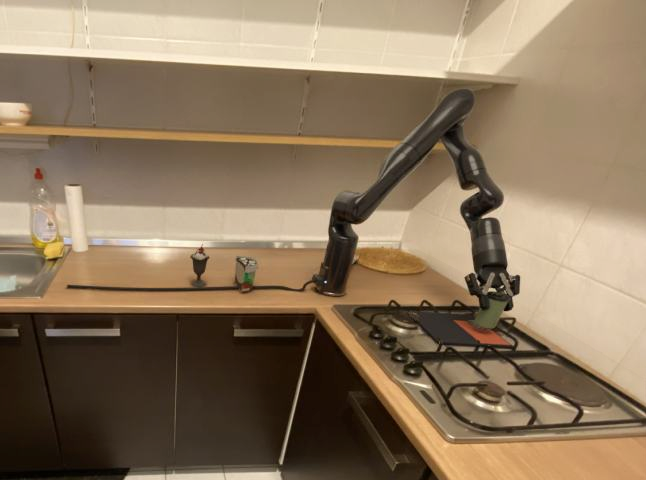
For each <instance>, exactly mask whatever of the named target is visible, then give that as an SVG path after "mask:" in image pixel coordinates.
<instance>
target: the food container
mask: <svg viewBox="0 0 646 480" xmlns="http://www.w3.org/2000/svg"><path fill="white" fill-rule="evenodd" d="M234 270H235V271H234V283H233V284H234V286H239V287H240V289H238V290H239V292H240V293H241V294H248V293H250V292H252V290H253V289H252V287H253V286H254V281H255V277H256V272H257V271H258V270H259V263H258V261H257V259H256V258H253V257H250V256H246V255H236V256H235V269H234Z"/></svg>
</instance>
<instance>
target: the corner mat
mask: <svg viewBox="0 0 646 480" xmlns="http://www.w3.org/2000/svg"><path fill="white" fill-rule="evenodd" d="M411 311H412V313H413V311H414V310H411ZM417 311H418V310H417ZM417 311H416V310H415V312H414V313H417V314H418V315H419V319H420V324H421V325H420V326H419V328H421V329H422V330H423V331H424V332H425V333H426V334H427V335H428V336H429V338H431V340H433V341H434V342H435V343H436V344H437V345H440V344H439V340H438V338H437V337H439V338H440V339H441V340H442V342H443V343H442V346H443V345H444V346H460V347H473V348H474V347H476V348H487V347H486V346H488V345H490V346H491V347H492V348H493V349H509V350H511V349H512V350H513V349H514V347H515V346H514V345H513V344H511V343H510V342H509V341H508V340H506V339H505V338H504V337H502V336H501V335H500V334H498V333H497V332H495V331H494V330H492V328H490V329H486V330H484V329H478V328H475V327H474V326H472V325H470V324H468V322H466V321H468V320H475V318H476V316H474V315H473V314H470V313H469V314H467V313H454V312H453V313H451V312H435V311H418V312H417ZM478 340H479V341H480V346H479V347H477V344H478ZM491 347H490V348H491ZM492 348H491V349H492Z"/></svg>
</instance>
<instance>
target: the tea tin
mask: <svg viewBox="0 0 646 480" xmlns="http://www.w3.org/2000/svg"><path fill="white" fill-rule="evenodd" d="M506 294H507V293H506ZM506 294H503V293H500V292H497V291H494V290H493V291H490V290H488V293H487V296H488V298H489V305H490V308H489V309H487V310H481V308H480V307H479V309H478V311H477V314H476V315H475V320H474V323H475V324H477V325H479V326H481V327H484V328H490V329H494V328H495V329H496V327H497V325H498V323H499V321H500V319H501V317H502V315H503V313H504V312H505V311H504V309H505V307H506V305H507V303H508V301H509V300H510V296H508V295H506Z"/></svg>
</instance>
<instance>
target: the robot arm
mask: <svg viewBox="0 0 646 480" xmlns="http://www.w3.org/2000/svg"><path fill="white" fill-rule="evenodd" d="M475 105H476V94H475V92H474V91H473V90H472V89H471V88H466V87H459V88H456V89H453V90H452V91H450V92H448V93H447V94H445V96H443V98H442V99H441V100H440V101H439V102H438V104H437V105H436V106H435V108H433V110H432V111H431V112H430V114H429V115H428V116H427V117H426V118H425V119H424V120H423V121H422V122H421V123H419V124H418V125H417V126H416V127H415V128H414V129H413V130H411V132H409V133H408V134H407V135H406V136H405V137H404V138H403V139H402V140H401V141H400V142H398V144H396V146H394V148H392V149H391V150H390V151H389V152H388V153H387V154H386V156H385V157H384V158H383V159H382V162H381V164H380V168H379V171H378V176H377V179H376V180H374V182H373V183H372V185H370V186H369V187H368V188H367V189H366V190H365V191H363V192H359V191H354V190H342V191H341V192H339V193H338V194H337V195H336V196H335V198H334V201H333V202H332V206H331V210H330V214H329V220H328V221H329V222H328V227H327V228H328V229H327V235H328V239H327V243H326V248H325V253H324V256H323V261H321V263H320V267H319V272H318V274H315V273H314V274H312V279H310V280H308V281H306V282H305V283H304V284H303V285H302V287H301V288H292V287H289V286H288V287H287V286H284V285H253V287H252V290H254V289H255V290H257V289H258V290H259V289H260V290H261V289H263V290H265V289H280V290H286V291H290V292H298V293H299V292H303V291H305V290H306V288H307V286H308V285H310V284H314V285H315V288H316V290H317V292H318V293H319V294H320V295H326V296H328V297H329V296H330V297H342V296H344V295H345V294H346V290H347V285H348V281H349V278H350V273H351V270H352V267H353V265H352V263H353V259H354V255H356V250H357V248H358V243H359V239H360V238H359V235H358V234H357V233H356V232H355V230H354V228H353V226H352V225H356V226H357V225H361V224H363V223H365V222H367V220H369V218H370V217H371V216H372V215H373V214H374V212H375V211H376V210H377V209H378V208H379V207H380V205H381V204H382V203H383V202H384V201H385V200H386V199H387V197H388V196H389V195H390V194H391V193H392V192H393V191H394V190H395V189H396V188H397V187H398V186H399V185H400V184H401V183H402V182H403V181H404V180H405V179H406V178H407V177H408V176H409V175H411V173H413V171H414V170H416V169H417V168H418V167H419V166H420V165H421V164H422V163H423V161H424V160H425V159H426V158H427V157H428V155H429V154H430V153H431V151H432V150H433V149H434V148H435V146H436V145H437V144H438V142H439V141H441V143H442V145H443V147H444V149H445V150H446V153H447V154H448V156H449V158H450V160H451V163H452V165H453V169H454V172H455V175H456V179H457V181H458V184H459V187H460V189H461V190H463V191H466V192H467V191H472V190H476V189H478V191H477V192H476V193H474V194H472V195H470V196H468V197H467V198H465V199H464V200H463V201H462V202H461V205H460V207H459V214H460V215H461V218H462V219H463V221H464V223H465V225H466V227H467V229H468V231H469V235H470V242H471V247H470V250H471V257H472V259H471V260H472V265H473V266H472V267H473V272H470V273H469V274H467V275H465V276H464V281H465V285H466V287H467V289H468V293H469V295H470V296H472V297H473V296H475V297H476V298H478V305H479V309H480V308H481V310H487V309H489V308H490V305H489V298H488V296H487V293H488V292H489V291H490V289H493V290H495V292H500V293H503V294H506V295H508V296H510V300H509V301H508V303H507V305H506V307H505V309H504V311H503V312H510V311H512V310H513V309H514V299H513V297H516V296H518V295H519V294H520V292H521V291H520V290H521V275H520V274H516V275H512V274H509V272H508V270H507V269H508V267H509V265H508V263H509V262H508V258H507V252H506V246H505V244H506V243H505V241H504V238H503V233H502V228H501V227H502V226H501V222H500V220H499V219H498V218H496V217H493V216H492V217H491V216H487V217H484V216H486V215H488V214H490V213H492V212H494V211H497V210H498V209H499V208H500V207H502V205H503V204H504V201H505V195H504V192H503V191H502V189H501V188H500V187H499V186H498V184H497V183H496V182H495V180H493V178H492V177H491V176H490V174H489V173H488V170H487V167H486V163H485V162H484V161H485V160H484V157H483V155H482V154H481V152H480V151H479V149H477V148H476V147H475V146H473V145H472V144H471V143H470V142H469V141H468V139H467V137H466V133H465V127H464V123H466V121H467V119H468V118H469V116H470V115H471V114H472V112H473V109H474V107H475ZM483 217H484V218H483ZM66 288H68V289H85V290H107V291H112V290H113V291H135V292H136V291H137V292H138V291H139V292H140V291H141V292H142V291H145V292H146V291H147V292H148V291H149V292H155V291H156V292H168V291H171V292H172V291H175V292H176V291H177V292H178V291H212V290H214V291H217V290H239V289H240V287H239V286H236V285H233V286H232V285H231V286H202V287H197V286H194V287H193V286H190V287H131V286H130V287H129V286H128V287H127V286H126V287H125V286H102V285H101V286H99V285H83V284H82V285H80V284H66Z"/></svg>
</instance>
